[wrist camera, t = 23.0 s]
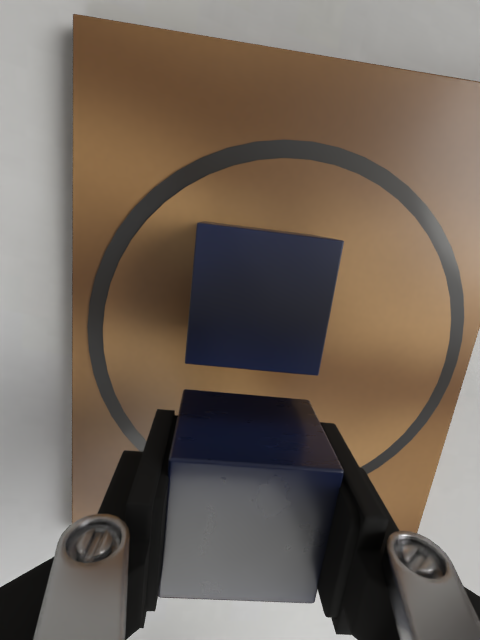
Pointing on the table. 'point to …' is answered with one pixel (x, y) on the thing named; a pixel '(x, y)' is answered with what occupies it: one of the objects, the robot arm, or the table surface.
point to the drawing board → (277, 214)
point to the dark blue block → (247, 499)
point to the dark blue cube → (260, 298)
